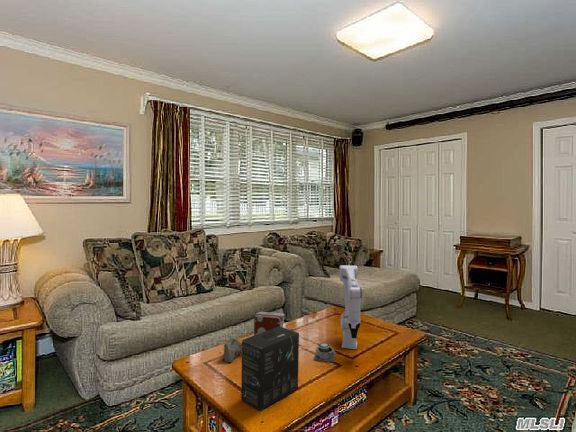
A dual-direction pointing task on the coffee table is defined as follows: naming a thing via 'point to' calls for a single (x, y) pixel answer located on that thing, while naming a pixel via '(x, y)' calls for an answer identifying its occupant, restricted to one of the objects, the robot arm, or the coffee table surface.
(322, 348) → the lens
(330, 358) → the mount
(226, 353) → the mineral rock
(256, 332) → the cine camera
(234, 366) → the coffee table surface
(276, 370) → the headset box
